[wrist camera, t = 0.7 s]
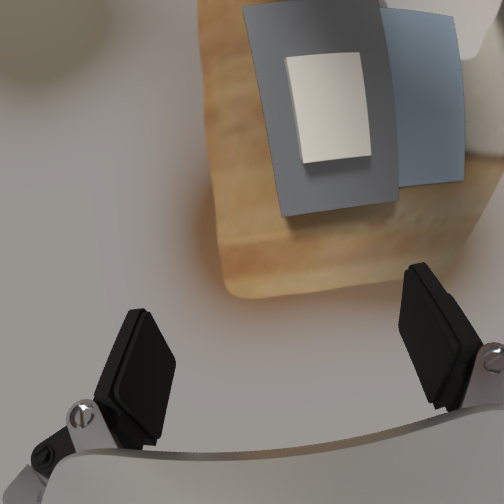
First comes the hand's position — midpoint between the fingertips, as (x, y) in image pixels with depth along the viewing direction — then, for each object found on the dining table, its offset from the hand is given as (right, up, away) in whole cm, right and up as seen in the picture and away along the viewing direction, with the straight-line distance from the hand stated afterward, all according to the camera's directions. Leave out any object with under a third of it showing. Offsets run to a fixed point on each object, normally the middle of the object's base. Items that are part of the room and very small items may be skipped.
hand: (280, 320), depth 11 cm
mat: (+17, +19, +16) cm, 30 cm away
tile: (+5, +15, +13) cm, 21 cm away
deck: (+6, +17, +17) cm, 25 cm away
